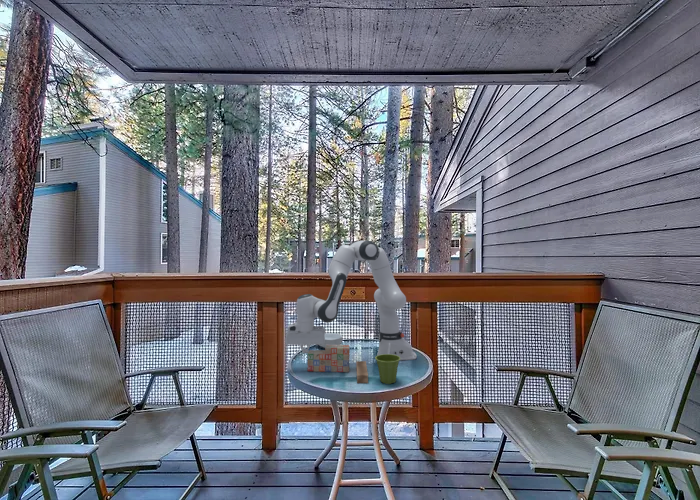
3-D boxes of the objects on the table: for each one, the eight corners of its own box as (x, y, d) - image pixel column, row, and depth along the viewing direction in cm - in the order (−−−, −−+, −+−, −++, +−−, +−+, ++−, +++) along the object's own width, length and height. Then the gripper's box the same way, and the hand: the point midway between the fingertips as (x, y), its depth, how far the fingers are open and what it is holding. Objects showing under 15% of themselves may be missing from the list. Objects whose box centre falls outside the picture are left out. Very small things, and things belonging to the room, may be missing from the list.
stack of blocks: (307, 371, 181) (307, 347, 180) (309, 367, 187) (309, 344, 187) (349, 372, 180) (349, 348, 179) (349, 367, 186) (349, 344, 186)
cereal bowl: (344, 350, 217) (344, 338, 217) (317, 351, 214) (317, 340, 214) (339, 342, 234) (339, 331, 234) (314, 344, 231) (314, 333, 230)
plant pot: (396, 376, 175) (396, 353, 174) (403, 385, 163) (403, 361, 163) (372, 377, 173) (372, 354, 173) (378, 387, 161) (378, 362, 161)
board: (365, 368, 186) (365, 361, 186) (367, 383, 166) (367, 375, 166) (356, 368, 186) (356, 361, 186) (357, 383, 166) (357, 375, 166)
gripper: (325, 324, 186) (326, 350, 186) (286, 324, 186) (287, 351, 186) (324, 327, 179) (325, 354, 180) (284, 327, 180) (284, 354, 180)
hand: (305, 352), depth 183 cm, fingers closed
